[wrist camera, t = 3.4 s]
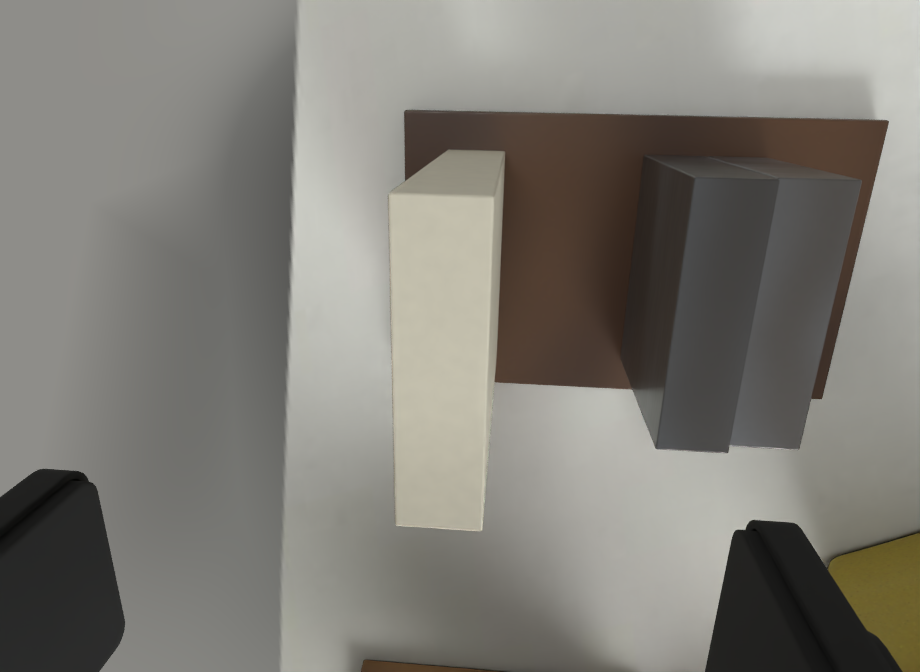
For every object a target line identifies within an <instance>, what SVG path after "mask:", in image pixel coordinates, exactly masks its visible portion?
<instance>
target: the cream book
mask: <svg viewBox="0 0 920 672" xmlns="http://www.w3.org/2000/svg"><path fill="white" fill-rule="evenodd" d="M504 170H505V151H483V150H447V151H446V152H444V153H443V154H442V155H440V156H439V157H438V158H436V159H435V160H433V161H432V162H431V163H429V164H428V165H427V166H425V167H424V168H422V169H421V170H420V171H418V172H417V173H416V174H414V175H413V176H411V177H410V178H409V179H407V180H406V181H405V182H403V183H402V184H400V185H399V186H398V187H396V188H395V189H394V190H392V191H391V192H390V193H389V194H388V216H389V263H390V310H391V357H392V404H393V451H394V499H395V524H396V525H397V526H409V527H423V528H438V529H452V530H467V531H482V528H483V516H484V504H485V492H486V480H487V467H488V455H489V443H490V431H491V419H492V406H493V394H494V382H495V370H496V358H497V339H498V315H499V290H500V266H501V242H502V218H503V194H504Z"/></svg>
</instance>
